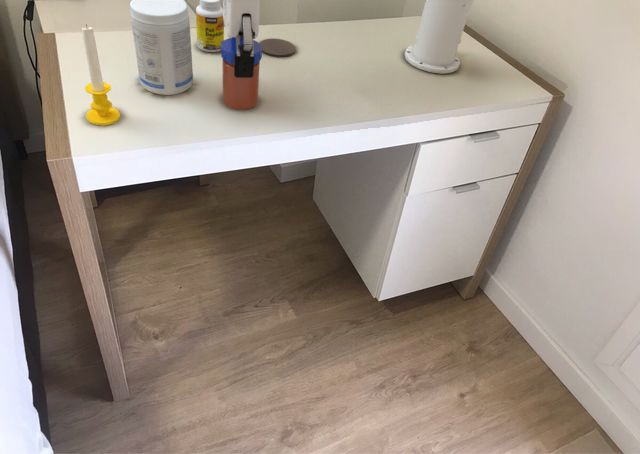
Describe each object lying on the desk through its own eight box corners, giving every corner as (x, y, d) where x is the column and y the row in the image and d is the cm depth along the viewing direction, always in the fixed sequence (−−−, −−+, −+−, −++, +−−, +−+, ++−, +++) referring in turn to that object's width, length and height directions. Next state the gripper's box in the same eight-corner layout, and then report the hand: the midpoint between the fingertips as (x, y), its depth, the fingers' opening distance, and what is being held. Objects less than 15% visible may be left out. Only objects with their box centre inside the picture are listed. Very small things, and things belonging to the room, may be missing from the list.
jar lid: (258, 48, 92) (259, 37, 90) (263, 66, 87) (264, 55, 86) (219, 46, 90) (219, 36, 89) (222, 65, 85) (222, 54, 84)
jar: (239, 88, 98) (240, 39, 91) (264, 102, 95) (267, 52, 89) (215, 99, 94) (214, 49, 87) (240, 114, 91) (242, 63, 85)
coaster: (275, 37, 116) (275, 35, 116) (302, 50, 113) (302, 48, 113) (250, 47, 111) (250, 44, 111) (278, 60, 108) (279, 58, 108)
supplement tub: (185, 69, 100) (181, -9, 90) (199, 93, 94) (196, 13, 84) (134, 74, 96) (123, -7, 86) (145, 99, 91) (135, 16, 81)
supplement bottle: (203, 55, 105) (202, 4, 98) (192, 43, 109) (190, -7, 102) (228, 51, 108) (229, 2, 101) (217, 40, 111) (216, -9, 104)
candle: (83, 111, 85) (63, 18, 75) (115, 106, 88) (100, 15, 77) (91, 128, 82) (71, 33, 72) (124, 122, 85) (109, 29, 74)
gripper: (213, -64, 83) (215, 43, 95) (224, -26, 71) (224, 91, 83) (260, -60, 84) (255, 44, 97) (277, -22, 73) (270, 91, 85)
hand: (241, 65), depth 90 cm, fingers closed on jar lid, 6 cm apart
